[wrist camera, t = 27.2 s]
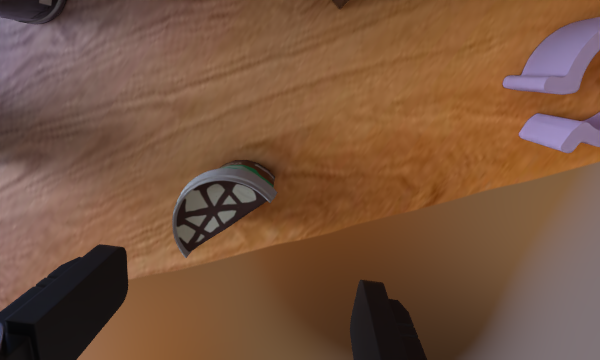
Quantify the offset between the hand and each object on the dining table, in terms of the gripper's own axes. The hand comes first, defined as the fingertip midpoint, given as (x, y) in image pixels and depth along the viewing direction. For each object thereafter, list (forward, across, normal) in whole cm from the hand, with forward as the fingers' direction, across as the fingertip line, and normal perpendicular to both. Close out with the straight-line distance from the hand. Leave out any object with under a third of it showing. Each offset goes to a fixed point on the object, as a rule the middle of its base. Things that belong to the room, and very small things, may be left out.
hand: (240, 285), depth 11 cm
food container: (+30, +7, +7) cm, 32 cm away
